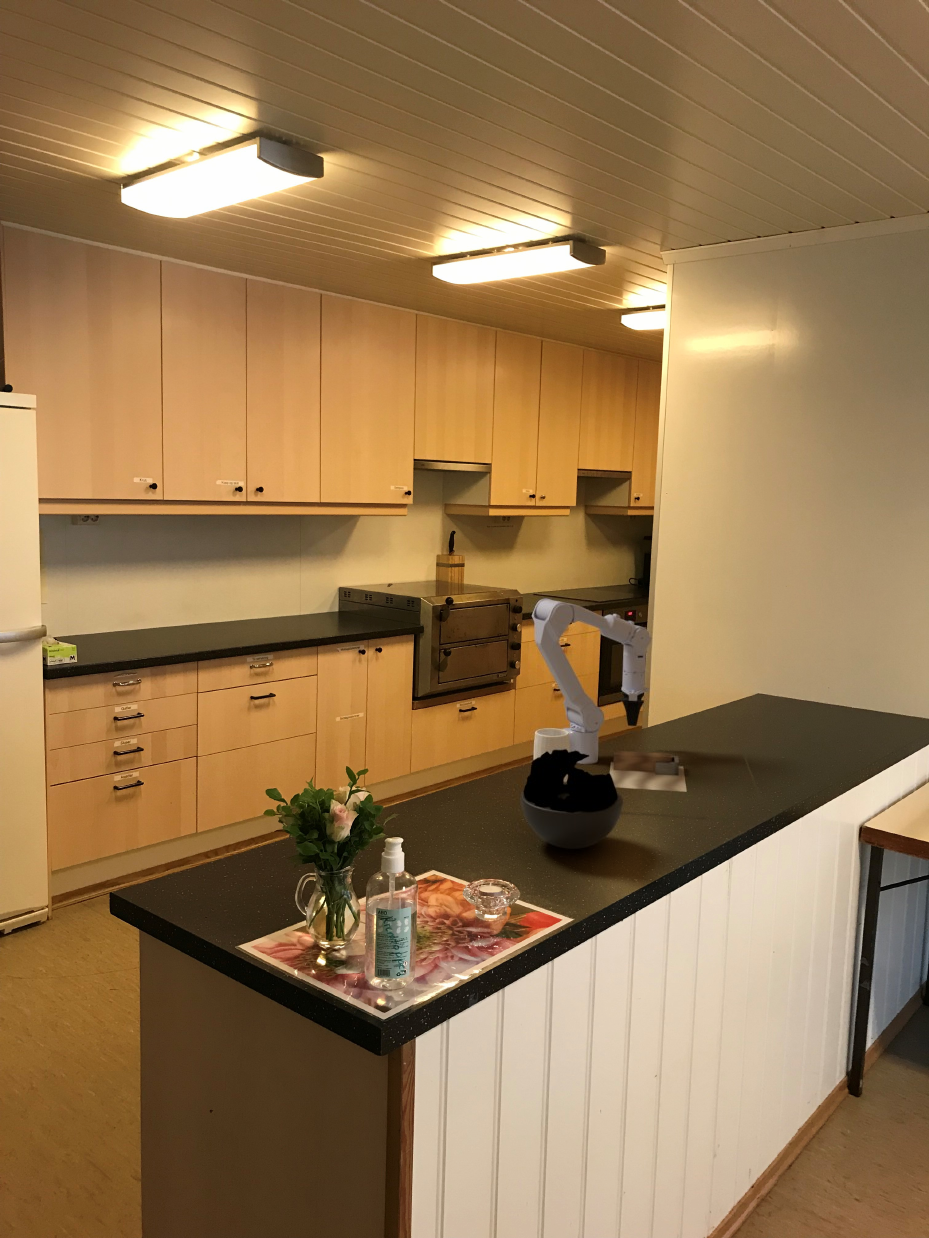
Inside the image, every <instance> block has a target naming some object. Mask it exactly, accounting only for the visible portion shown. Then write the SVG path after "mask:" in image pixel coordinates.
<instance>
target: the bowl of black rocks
mask: <svg viewBox="0 0 929 1238" xmlns="http://www.w3.org/2000/svg"><path fill="white" fill-rule="evenodd" d="M587 757H589V755H586V754H581V753H580V752H579V751H571V752H568V750H567V749H563V750H553V751H552V753H551V754H550V753H549V752H545V753H544V754H542V755H541V756H540V757H538V758H536V759H535V760H534V759H533V760H532V762H531V767H530V772H529V775H528V776H527V777H526V784H525V785H524V787H523V790H522V792H521V795H520V805H521V810H522V813H523V816H524V818H525V821H526V822H527V824H528V825H529V827H530V828H531V829H532V831H533V832H534V833H535V834H536V835H537V836H538V837H539V838H540V839H541V840H543V841H545V842H546V843H548V844H550V845H552V846H555V847H558V848H560V849H567V850H568V849H569V850H578V849H584V848H588V847H591V846H593V845H595V844H597V843H600V842H601V841H602V840H604V839H605V838H606V837H607V836H608V835H610V833H611V832H612V831H613V829H614V828H615V826H616V825H617V823H618V821H619V819H620V817H621V813H622V812H623V811H622V810H623V806H624V805H623V804H624V798H623V796H621V795H620V793H618V791H617V789H616V788H617V787H615V785H614V782H613V779H612V776H611V774H610V772H609V773H607V774H591V773H589V772H588V771H585V770H584V769H582V768H581V769H580V768H577V767H576V765H577V764H578V763H577V762H578V761H581V760H583V759H585V758H587ZM567 774H568V779H567V782H564V778H565V776H566V775H567Z"/></svg>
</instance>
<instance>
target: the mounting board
mask: <svg viewBox="0 0 929 1238" xmlns="http://www.w3.org/2000/svg"><path fill="white" fill-rule="evenodd" d="M613 768H614V761H611V762H610V768H609V774H611V776H612V779H613V782H614V785H615V788H617V789H618V788H620V789H632V790H633V789H635V790H649V791H650V790H651V791H652V790H653V791H666V792H667V791H668V792H681V793H683V792H685V793H687V785H686V777H685V776H686V775H685V769H684V766H681V765H679V776H675V775H658V774H655V772H641V771H624V770H613Z"/></svg>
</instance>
